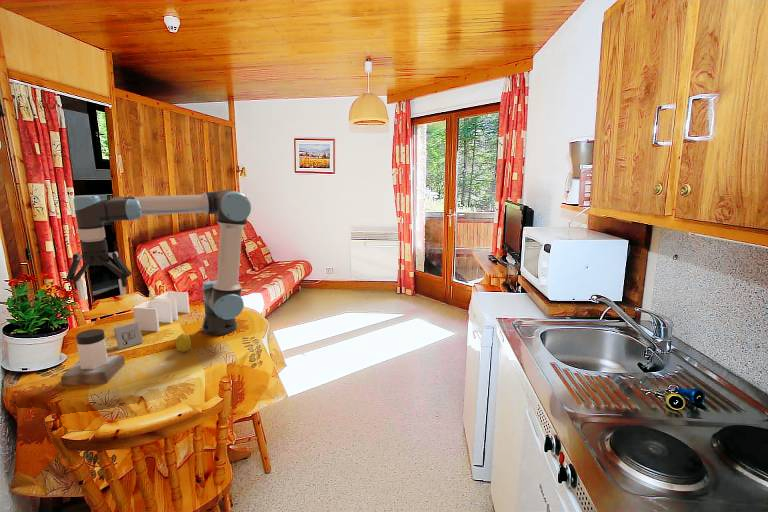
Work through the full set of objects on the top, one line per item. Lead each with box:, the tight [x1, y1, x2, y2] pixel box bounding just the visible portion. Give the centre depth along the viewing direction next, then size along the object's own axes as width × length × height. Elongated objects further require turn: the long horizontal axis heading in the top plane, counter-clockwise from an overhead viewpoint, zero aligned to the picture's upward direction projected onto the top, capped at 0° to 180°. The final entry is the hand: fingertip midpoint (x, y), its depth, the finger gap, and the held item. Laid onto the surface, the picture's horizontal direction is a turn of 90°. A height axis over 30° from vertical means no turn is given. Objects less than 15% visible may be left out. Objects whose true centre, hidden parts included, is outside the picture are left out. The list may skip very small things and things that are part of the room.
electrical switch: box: [113, 321, 144, 350], centre depth 172 cm, size 9×5×9 cm, turn 141°
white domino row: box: [132, 290, 190, 332], centre depth 198 cm, size 25×11×11 cm, turn 173°
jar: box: [75, 328, 109, 369], centre depth 146 cm, size 9×8×12 cm
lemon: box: [175, 333, 192, 353], centre depth 166 cm, size 6×6×8 cm
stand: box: [60, 354, 126, 387], centre depth 148 cm, size 14×14×4 cm
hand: (103, 296), depth 149 cm, fingers open, 13 cm apart
